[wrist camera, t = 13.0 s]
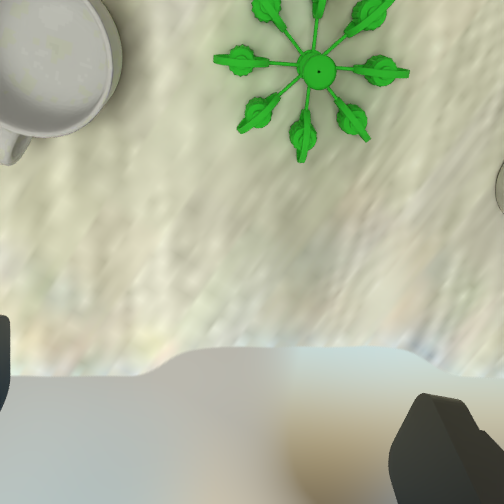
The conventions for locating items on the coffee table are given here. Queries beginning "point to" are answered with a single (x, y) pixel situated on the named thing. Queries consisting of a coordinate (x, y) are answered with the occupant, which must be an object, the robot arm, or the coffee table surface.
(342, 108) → the chandelier
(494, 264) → the coffee table surface
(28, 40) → the teacup
